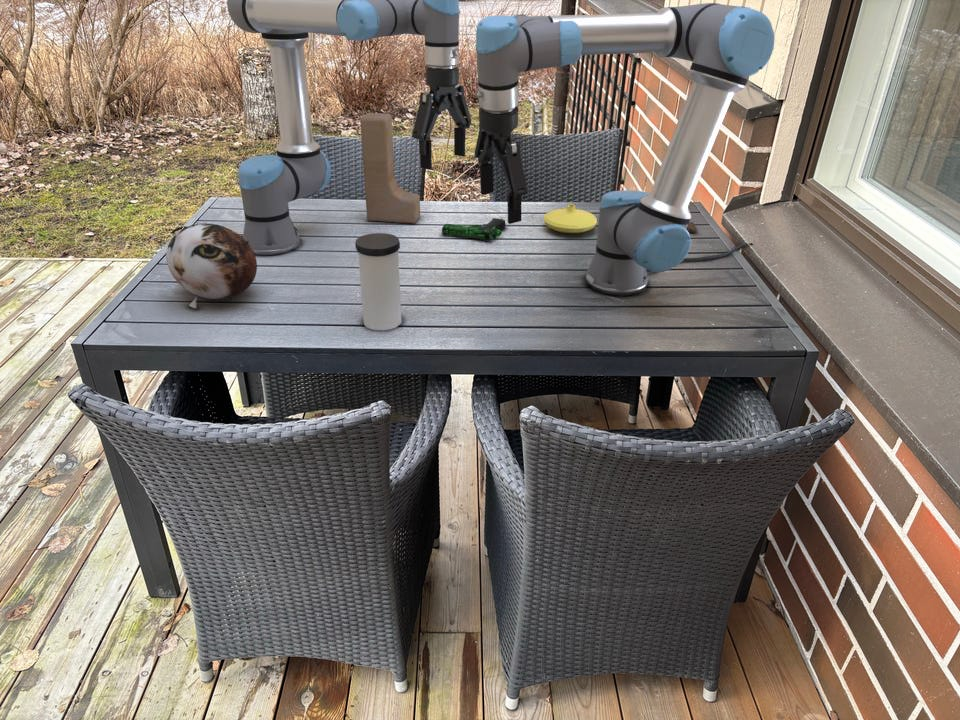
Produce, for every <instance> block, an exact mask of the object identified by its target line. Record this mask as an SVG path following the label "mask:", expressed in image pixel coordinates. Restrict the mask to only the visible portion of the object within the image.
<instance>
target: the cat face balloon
mask: <svg viewBox="0 0 960 720" xmlns="http://www.w3.org/2000/svg"><path fill="white" fill-rule="evenodd" d="M241 236H242V235H240V234H239V233H238V232H236V231H234V230H233V229H231V228H229V227H226V226H223V225H220V224H215V223H205V222H204V223H195V224H191V225H188V226H187V227H186V228H184V229H181V230H178V231H177V232H176V233H175V234H174V235H173V237H171V239H170V241H169V243H168V245H167V248H166V254H165V260H166V265H167V268H168V271H169V273H170V275H171V276H172V277H173V279H174V280H175V281H176V282H177V284H178V285H180V286H181V287H182V288H183V289H185V290H186V291H187V292H189V293H191V294H194V295H195V298H194V299H193V300H192V302H190V303H189V304H188V306H189V307H191V308H192V309H197V308H198V307H197V298H198V297H201V298H205V299H210V300H226V299H230V298H233V297H236V296H238V295H241V294H242V293H244V292H245V291H247V290H248V289H249V288H250V286H251V285H252V284H253V282H254V280H255V278H256V275H257V271H258V262H257V257H256V254H254V252H253V250H252V248H251V247H250V245H249V244H248V242H249V241H246V240H245V239H244V238H243V237H241Z"/></svg>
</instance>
